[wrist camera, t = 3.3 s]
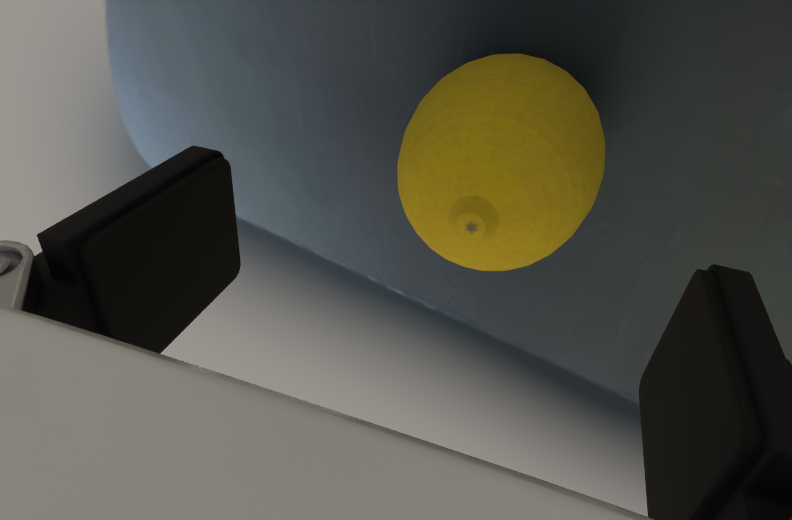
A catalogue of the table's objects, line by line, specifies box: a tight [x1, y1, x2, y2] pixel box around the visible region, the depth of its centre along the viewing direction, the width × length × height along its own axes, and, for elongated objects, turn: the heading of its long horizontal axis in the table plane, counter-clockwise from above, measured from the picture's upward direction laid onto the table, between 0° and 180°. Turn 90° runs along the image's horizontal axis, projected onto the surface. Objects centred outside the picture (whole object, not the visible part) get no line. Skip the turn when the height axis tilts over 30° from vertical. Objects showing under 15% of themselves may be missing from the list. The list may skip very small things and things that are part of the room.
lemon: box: [397, 53, 605, 271], centre depth 15 cm, size 6×6×8 cm
